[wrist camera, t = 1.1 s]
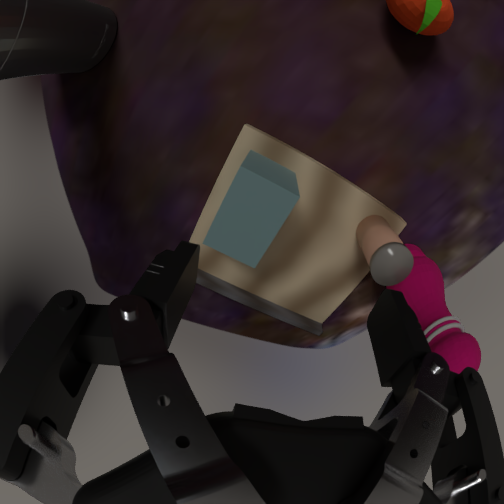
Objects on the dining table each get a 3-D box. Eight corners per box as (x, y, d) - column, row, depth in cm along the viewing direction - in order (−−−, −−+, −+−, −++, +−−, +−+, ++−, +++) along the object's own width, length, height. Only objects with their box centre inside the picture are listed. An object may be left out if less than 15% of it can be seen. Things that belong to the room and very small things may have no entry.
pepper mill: (390, 295, 34) (435, 426, 16) (367, 261, 31) (419, 410, 14) (432, 267, 31) (499, 389, 14) (414, 228, 28) (501, 360, 11)
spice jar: (347, 237, 28) (362, 274, 22) (369, 207, 26) (391, 238, 20) (375, 254, 29) (393, 292, 23) (397, 226, 27) (421, 259, 21)
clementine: (425, 58, 18) (461, 53, 12) (367, 27, 17) (393, 7, 11) (437, 9, 14) (470, -4, 8) (382, -23, 13) (406, -47, 7)
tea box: (219, 210, 28) (202, 243, 22) (250, 149, 24) (240, 165, 18) (262, 231, 29) (256, 269, 23) (296, 173, 25) (301, 198, 19)
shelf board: (183, 258, 34) (175, 273, 31) (246, 123, 25) (242, 126, 22) (317, 319, 37) (318, 335, 34) (401, 217, 28) (412, 230, 25)
